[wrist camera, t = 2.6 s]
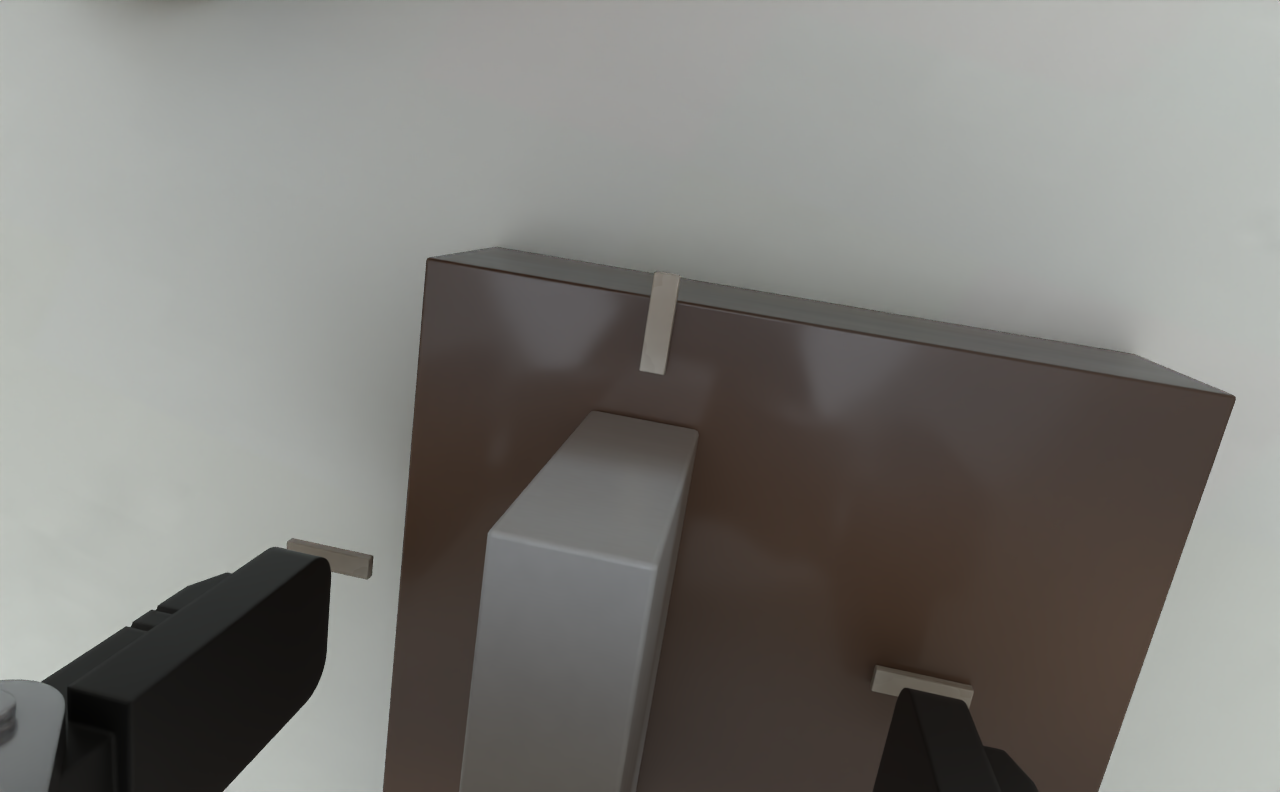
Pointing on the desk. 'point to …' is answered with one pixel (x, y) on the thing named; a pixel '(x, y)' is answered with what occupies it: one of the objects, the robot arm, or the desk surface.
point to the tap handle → (578, 612)
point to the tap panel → (806, 518)
